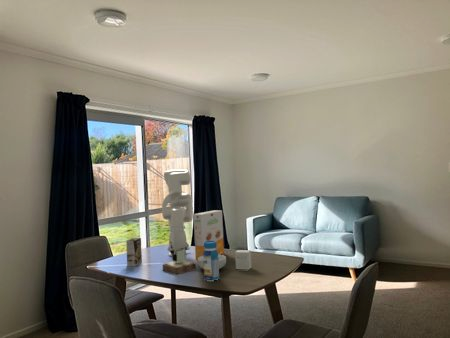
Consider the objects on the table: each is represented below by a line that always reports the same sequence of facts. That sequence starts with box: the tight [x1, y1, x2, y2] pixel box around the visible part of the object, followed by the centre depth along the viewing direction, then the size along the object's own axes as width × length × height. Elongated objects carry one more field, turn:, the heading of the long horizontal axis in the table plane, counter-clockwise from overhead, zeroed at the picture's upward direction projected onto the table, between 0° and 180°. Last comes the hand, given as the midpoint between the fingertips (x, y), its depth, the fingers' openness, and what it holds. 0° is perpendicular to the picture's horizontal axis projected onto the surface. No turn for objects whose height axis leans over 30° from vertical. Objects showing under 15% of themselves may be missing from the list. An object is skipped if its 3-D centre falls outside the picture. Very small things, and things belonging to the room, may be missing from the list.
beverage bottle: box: [203, 241, 220, 282], centre depth 195 cm, size 8×8×20 cm
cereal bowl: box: [197, 254, 227, 270], centre depth 215 cm, size 17×17×7 cm
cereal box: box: [193, 209, 225, 261], centre depth 246 cm, size 22×6×30 cm, turn 143°
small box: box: [234, 249, 252, 270], centre depth 212 cm, size 8×6×10 cm
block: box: [172, 249, 186, 263], centre depth 217 cm, size 5×5×7 cm
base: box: [162, 259, 197, 275], centre depth 217 cm, size 14×14×4 cm
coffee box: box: [125, 237, 143, 267], centre depth 235 cm, size 9×6×16 cm
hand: (178, 259), depth 217 cm, fingers open, 5 cm apart
